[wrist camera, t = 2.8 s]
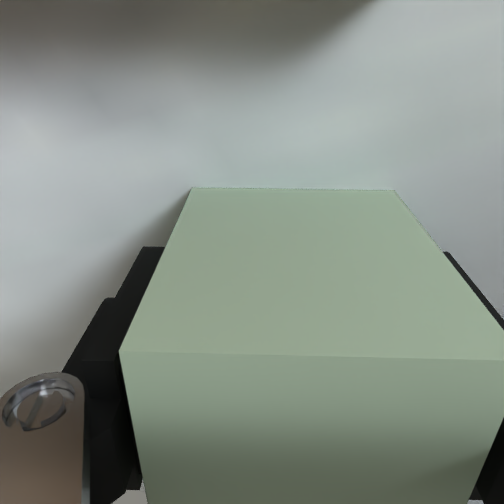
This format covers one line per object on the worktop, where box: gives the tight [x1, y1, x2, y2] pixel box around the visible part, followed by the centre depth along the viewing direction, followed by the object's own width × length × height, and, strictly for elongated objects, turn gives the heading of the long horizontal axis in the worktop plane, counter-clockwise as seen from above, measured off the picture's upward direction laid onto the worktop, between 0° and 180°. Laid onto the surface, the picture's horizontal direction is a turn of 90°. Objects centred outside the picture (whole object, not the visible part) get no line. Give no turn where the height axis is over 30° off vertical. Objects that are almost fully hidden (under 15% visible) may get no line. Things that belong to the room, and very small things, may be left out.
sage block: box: [119, 187, 504, 504], centre depth 9 cm, size 5×5×6 cm
